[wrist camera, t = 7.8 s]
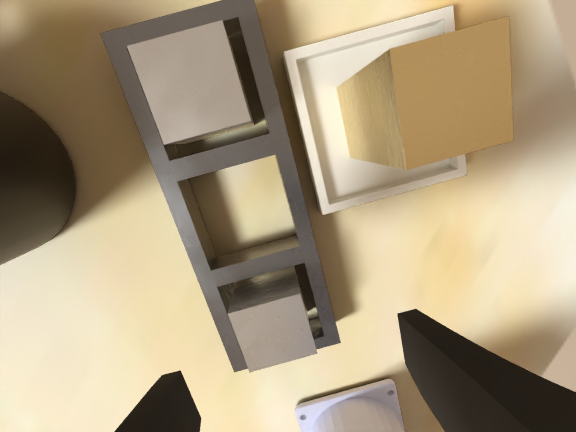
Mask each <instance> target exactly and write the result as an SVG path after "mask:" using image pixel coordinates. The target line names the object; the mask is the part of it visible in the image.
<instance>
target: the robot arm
mask: <svg viewBox="0 0 576 432" xmlns="http://www.w3.org/2000/svg"><path fill="white" fill-rule="evenodd" d="M398 321H399V327H400V333H401V339H402V346H403V352H404V358H405V364H406V366H407V368H408V370H409V372H410V374H411V376H412V378H413V380H414V382H415V384H416V386H417V388H418V389H419V391H420V393H421V395H422V397H423V398H424V400H425V402H426V403H427V405H428V406H429V408H430V409H431V411H432V412H433V414H434V415H435V417H436V418H437V420H438V421H439V423H440V424H441V426H442V427H443V429H444V431H445V432H576V392H574V391H571V390H569V389H567V388H565V387H562V386H560V385H558V384H555V383H553V382H551V381H549V380H547V379H544V378H542V377H540V376H538V375H536V374H534V373H532V372H530V371H528V370H526V369H524V368H522V367H519V366H517V365H515V364H513V363H511V362H509V361H507V360H505V359H503V358H501V357H500V356H498V355H496V354H494V353H492V352H490V351H488V350H486V349H484V348H483V347H481V346H479V345H477V344H475V343H473V342H472V341H470V340H468V339H466V338H465V337H463V336H461V335H459V334H458V333H456V332H454V331H452V330H451V329H449V328H447V327H446V326H444V325H442V324H440V323H439V322H437V321H435V320H434V319H432V318H430V317H429V316H427V315H425V314H424V313H422V312H420V311H418V310H417V309H413V310H410V311H406V312H402V313H398ZM295 415H296V418H297V421H298V424H299V427H300V430H301V432H405V430H404V425H403V420H402V415H401V410H400V405H399V400H398V395H397V390H396V385H395V383H394V381H393V380H391V379H386V380H382V381H379V382H375V383H371V384H368V385H364V386H361V387H357V388H354V389H350V390H346V391H343V392H339V393H336V394H332V395H329V396H325V397H321V398H318V399H314V400H311V401H307V402H303V403H300V404H298V405H296V406H295ZM200 424H201V417H200V414H199V412H198V410H197V407H196V405H195V403H194V400H193V398H192V396H191V394H190V391H189V389H188V387H187V384H186V382H185V380H184V377H183V375H182V373H181V370H180V371H176V372H173V373H169V374H165V375H162V376H161V377H160V378H159V379H158V380H157V381H156V383H155V384H154V385H153V386H152V387H151V388H150V390H149V391H148V392H147V393H146V394H145V396H144V397H143V398H142V399H141V400H140V402H139V403H138V404H137V405H136V406H135V408H134V409H133V410H132V411H131V412H130V414H129V415H128V416H127V417H126V418H125V420H124V421H123V422H122V423H121V424H120V426H119V427H118V428H117V429H116V430H115V432H200Z"/></svg>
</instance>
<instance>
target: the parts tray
mask: <svg viewBox="0 0 576 432" xmlns="http://www.w3.org/2000/svg"><path fill="white" fill-rule="evenodd" d="M453 31H455V22H454V10H453V5H452V6H448V7H445V8H441V9H437V10H434V11H430V12H426V13H423V14H419V15H416V16H412V17H408V18H405V19H401V20H397V21H394V22H390V23H386V24H383V25H379V26H375V27H372V28H368V29H364V30H361V31H357V32H353V33H350V34H346V35H342V36H339V37H335V38H331V39H328V40H324V41H320V42H317V43H313V44H309V45H306V46H302V47H298V48H295V49H291V50H287V51H284V53H283V62H284V67H285V71H286V75H287V79H288V83H289V87H290V91H291V96H292V100H293V104H294V108H295V112H296V116H297V121H298V125H299V129H300V133H301V137H302V141H303V145H304V150H305V154H306V158H307V162H308V166H309V170H310V175H311V179H312V183H313V187H314V191H315V195H316V199H317V204H318V208H319V211H320V212H321V213H322V215H325V214H328V213H332V212H336V211H339V210H343V209H346V208H350V207H354V206H357V205H361V204H365V203H368V202H372V201H375V200H379V199H383V198H386V197H390V196H393V195H397V194H401V193H404V192H408V191H412V190H415V189H419V188H422V187H426V186H430V185H433V184H437V183H441V182H444V181H448V180H451V179H455V178H459V177H462V176H466V175H467V166H466V154H463V155H460V156H456V157H452V158H449V159H445V160H441V161H438V162H434V163H431V164H427V165H423V166H420V167H416V168H412V169H409V170H404V169H399V168H395V167H390V166H385V165H381V164H376V163H372V162H367V161H362V160H358V159H353V158H350V154H349V149H348V144H347V139H346V134H345V129H344V124H343V119H342V114H341V109H340V104H339V99H338V94H337V87H338V86H339V85H341V84H342V83H343V82H345V81H346V80H347V79H349V78H350V77H352V76H353V75H354V74H356V73H357V72H358V71H360V70H361V69H362V68H364V67H365V66H367V65H368V64H369V63H371V62H372V61H373V60H375V59H376V58H377V57H379V56H380V55H382V54H383V53H384V52H386V51H387V50H388V49H390V48H394V47H398V46H401V45H405V44H409V43H412V42H416V41H420V40H423V39H427V38H431V37H434V36H438V35H442V34H445V33H449V32H453Z"/></svg>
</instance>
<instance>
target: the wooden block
mask: <svg viewBox="0 0 576 432" xmlns="http://www.w3.org/2000/svg"><path fill="white" fill-rule="evenodd" d="M337 94H338V99H339V104H340V109H341V114H342V119H343V124H344V129H345V134H346V139H347V144H348V149H349V154H350V158H353V159H358V160H362V161H367V162H372V163H376V164H381V165H385V166H390V167H395V168H399V169H404V170H409V169H412V168H416V167H420V166H423V165H427V164H431V163H434V162H438V161H441V160H445V159H449V158H452V157H456V156H460V155H463V154H467V153H470V152H474V151H478V150H481V149H485V148H489V147H492V146H496V145H500V144H503V143H507V142H510V141H513V113H512V84H511V56H510V27H509V16H508V17H504V18H500V19H497V20H493V21H489V22H486V23H482V24H478V25H475V26H471V27H467V28H464V29H460V30H456V31H453V32H449V33H445V34H442V35H438V36H434V37H431V38H427V39H423V40H420V41H416V42H412V43H409V44H405V45H401V46H398V47H394V48H390V49H388V50H387V51H386V52H384V53H383V54H382V55H380V56H379V57H377V58H376V59H375V60H373V61H372V62H371V63H369V64H368V65H367V66H365V67H364V68H362V69H361V70H360V71H358V72H357V73H356V74H354V75H353V76H352V77H350V78H349V79H347V80H346V81H345V82H343V83H342V84H341V85H339V86H338V87H337Z"/></svg>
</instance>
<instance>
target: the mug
mask: <svg viewBox="0 0 576 432" xmlns="http://www.w3.org/2000/svg"><path fill="white" fill-rule="evenodd" d="M75 190H76V185H75V176H74V171H73V167H72V164H71V161H70V158H69V156H68V154H67V152H66V150H65V148H64V146H63V144H62V143H61V141H60V140H59V138H58V137H57V135H56V134H55V133H54V132H53V130H52V129H51V128H50V127H49V126H48V125H47V124H46V123H45V122H44V121H43V120H42V119H41V118H40V117H39V116H38V115H37V114H36V113H34V112H33V111H32V110H30V109H29V108H28V107H26V106H25V105H23V104H22V103H20V102H19V101H17V100H15V99H14V98H12V97H10V96H8V95H7V94H4V93H2V92H0V265H1V264H4V263H6V262H8V261H10V260H12V259H14V258H16V257H18V256H20V255H23V254H25V253H27V252H29V251H31V250H33V249H35V248H37V247H39V246H41V245H43V244H45V243H46V242H48V241H49V240H51V239H52V238H53V237H54V236H55V235H56V234H57V233H58V232H59V231H60V230H61V229H62V227H63V226H64V224H65V223H66V221H67V219H68V217H69V215H70V213H71V211H72V208H73V204H74V200H75Z"/></svg>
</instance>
